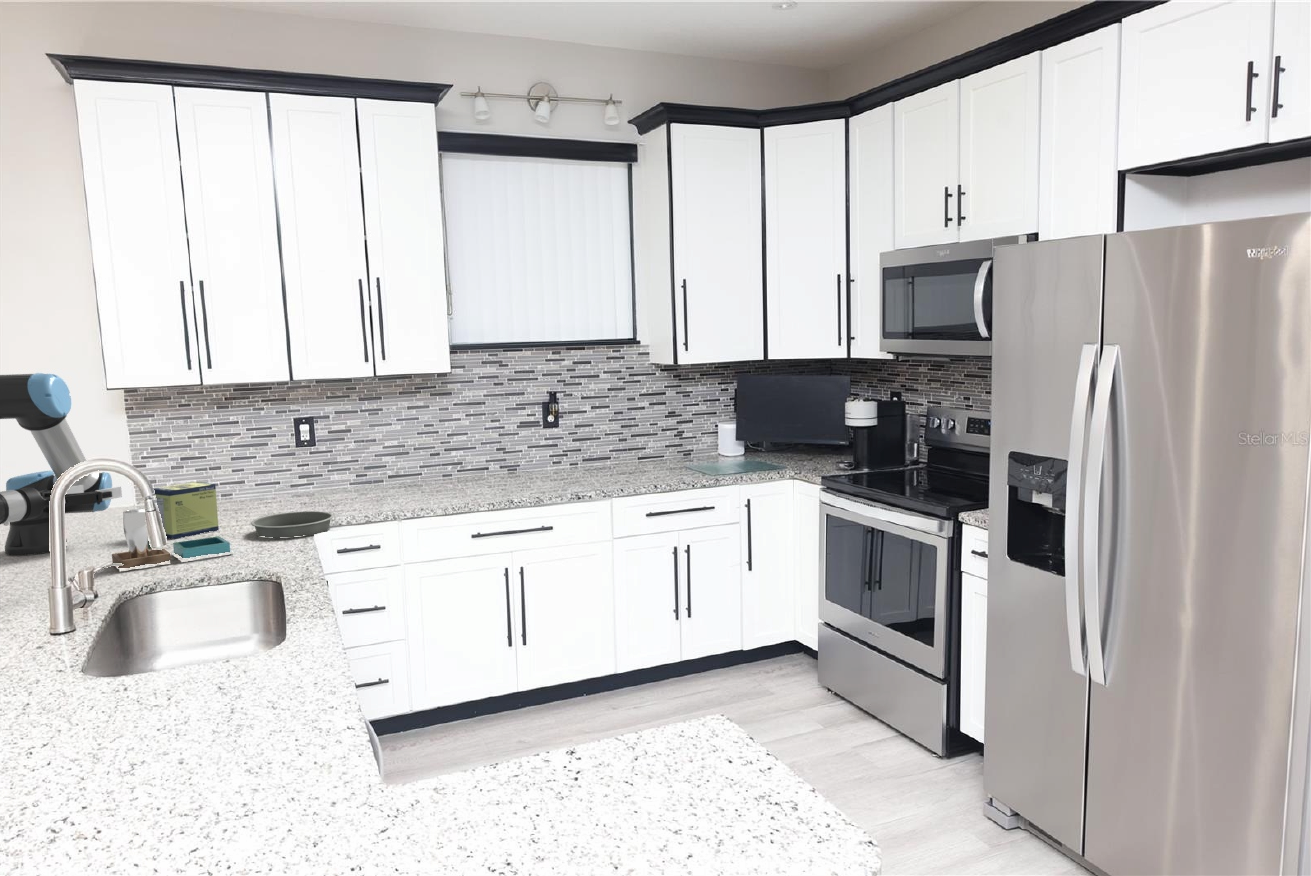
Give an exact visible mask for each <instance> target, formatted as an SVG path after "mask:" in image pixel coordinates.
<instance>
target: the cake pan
mask: <svg viewBox="0 0 1311 876" xmlns="http://www.w3.org/2000/svg"><path fill="white" fill-rule="evenodd" d="M333 518H334V514H333V513H332V512H326V511H319V510H318V511H317V510H314V511H313V510H312V511H311V510H308V511H290V512H282V513H275V514H269V515H266V516H265V515H264V516H261V517H258V518H256V519H253V520H252V521H250V525H251V526H253V527H254V528H255V531H256V534H257V536H258V537H259V536H265V537H273V538H272V539H274V538H278V539H281V538H280V537H294V536H303V535H309V536H312V535H313V536H314V535H318V534H321V533H324V532H326V531H328V530H329V529H330V524H331V520H332V519H333ZM303 537H304V536H303ZM294 538H295V537H294Z"/></svg>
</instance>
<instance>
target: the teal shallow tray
mask: <svg viewBox="0 0 1311 876" xmlns="http://www.w3.org/2000/svg"><path fill="white" fill-rule="evenodd" d="M172 547H173V553H175V554H178V555H179V556H181V557H182V558H190V557H196V556H201V555H208V554H219V553H225V552H230V551H231V545H230V542H229V541H228V540H226V539H225V538H222V537H221V536H220V535H219V536H218V535H217V536H211V537H204V538H197V539H191V540H190V539H189V540H184V541H183V540H182V541H177V542H176V541H175V542H172Z"/></svg>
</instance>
